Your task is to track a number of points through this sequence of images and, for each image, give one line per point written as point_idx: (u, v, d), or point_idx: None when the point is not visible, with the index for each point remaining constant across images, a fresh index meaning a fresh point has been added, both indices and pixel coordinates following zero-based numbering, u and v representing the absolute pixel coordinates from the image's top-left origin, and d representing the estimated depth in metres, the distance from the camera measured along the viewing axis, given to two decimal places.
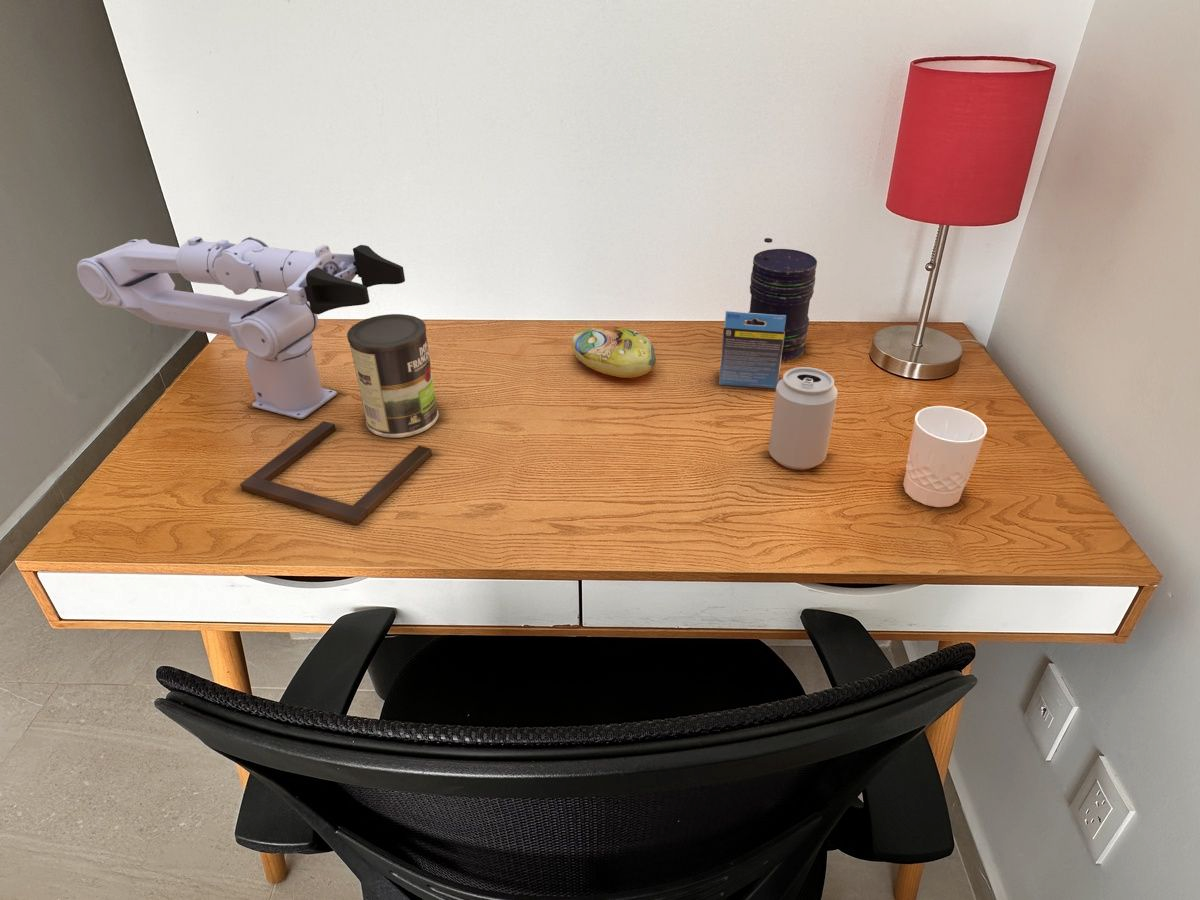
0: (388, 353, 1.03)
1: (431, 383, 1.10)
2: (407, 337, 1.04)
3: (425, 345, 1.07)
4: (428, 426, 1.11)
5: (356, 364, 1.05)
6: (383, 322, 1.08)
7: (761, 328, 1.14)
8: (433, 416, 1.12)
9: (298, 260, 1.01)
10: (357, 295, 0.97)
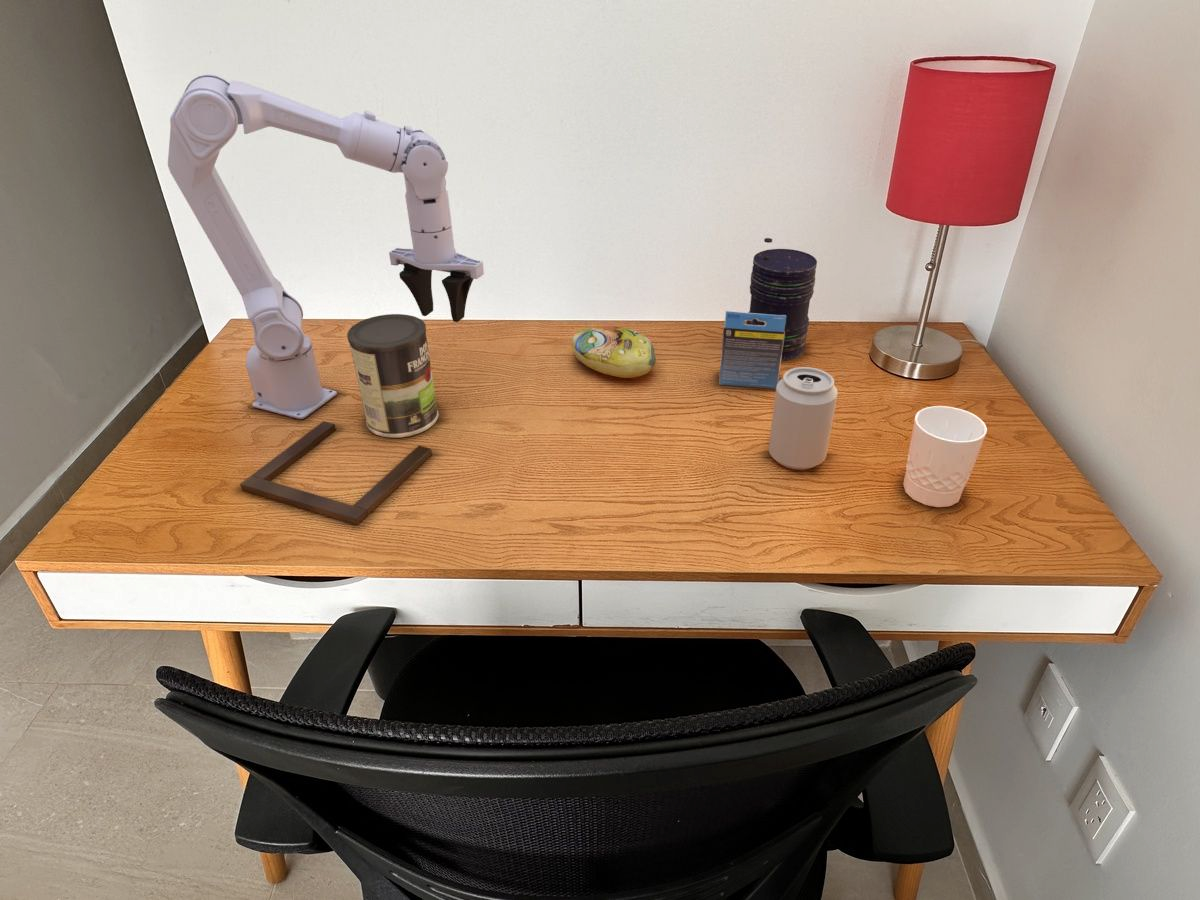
0: (388, 352, 1.03)
1: (431, 383, 1.10)
2: (407, 337, 1.04)
3: (425, 345, 1.07)
4: (428, 426, 1.11)
5: (356, 364, 1.05)
6: (383, 322, 1.08)
7: (761, 328, 1.14)
8: (433, 416, 1.12)
9: None
10: (460, 313, 1.16)
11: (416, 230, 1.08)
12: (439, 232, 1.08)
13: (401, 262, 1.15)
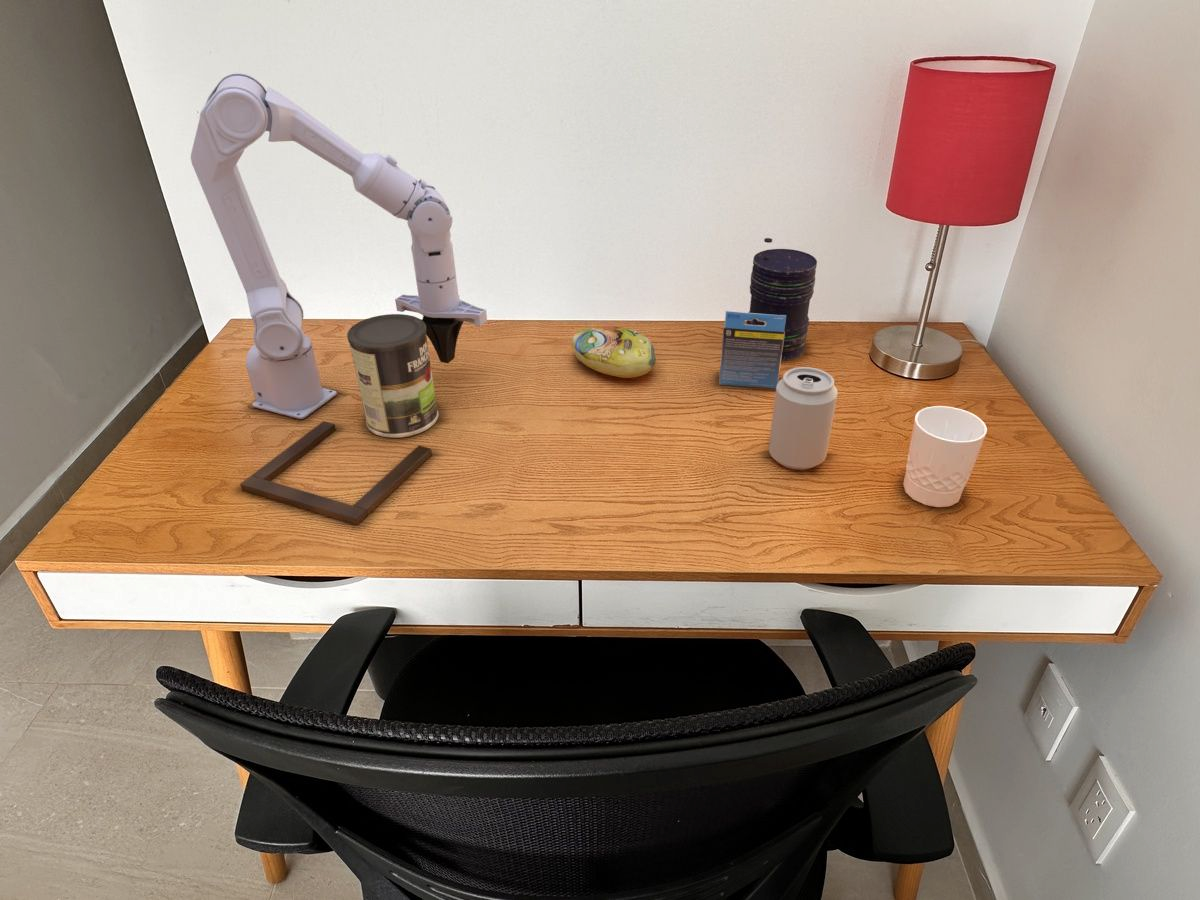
0: (388, 352, 1.03)
1: (431, 383, 1.10)
2: (407, 337, 1.04)
3: (425, 345, 1.07)
4: (428, 426, 1.11)
5: (356, 364, 1.05)
6: (383, 322, 1.08)
7: (761, 328, 1.14)
8: (433, 416, 1.12)
9: None
10: (451, 354, 1.21)
11: (421, 280, 1.12)
12: (444, 282, 1.12)
13: (407, 308, 1.19)
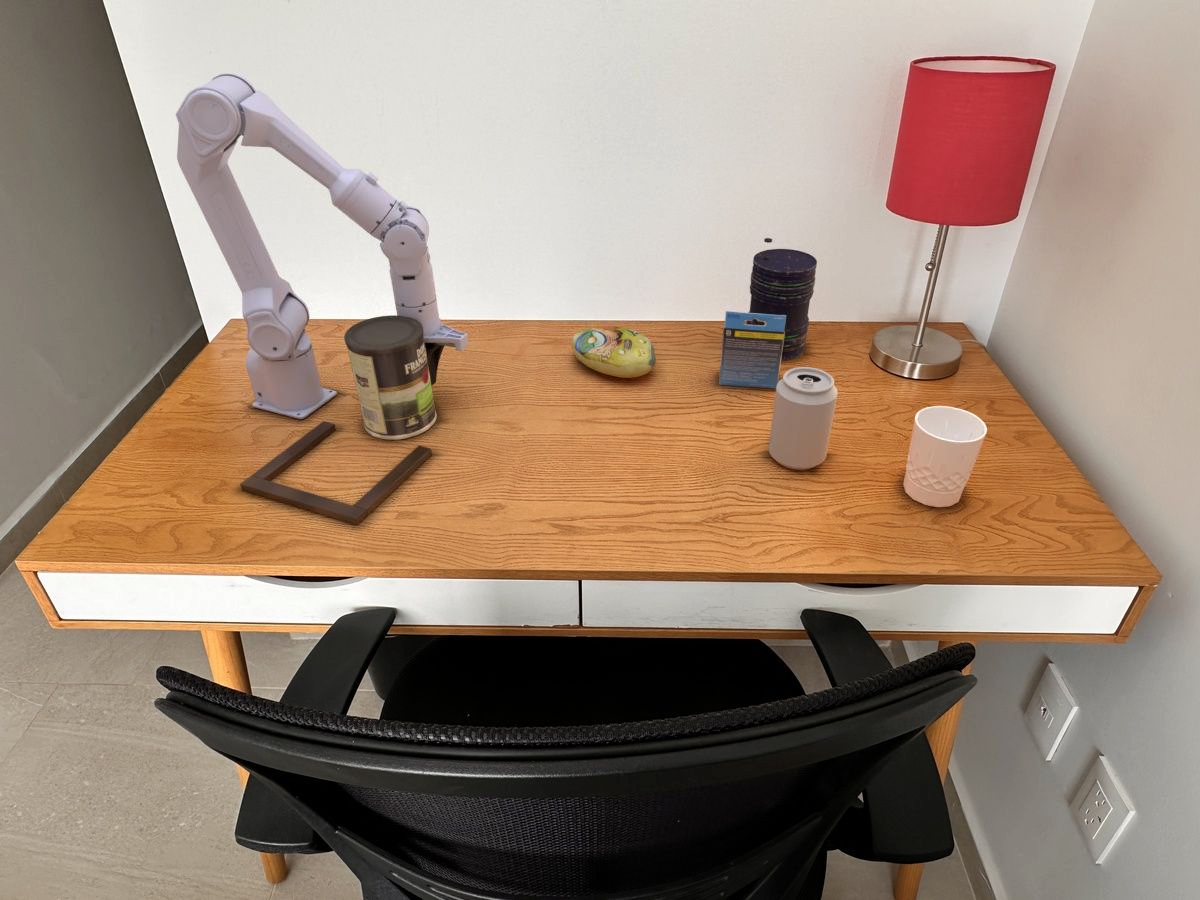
0: (385, 355, 1.02)
1: (429, 385, 1.10)
2: (404, 339, 1.04)
3: (423, 347, 1.06)
4: (426, 428, 1.11)
5: (353, 366, 1.05)
6: (380, 323, 1.08)
7: (761, 328, 1.14)
8: (431, 418, 1.12)
9: None
10: (432, 378, 1.17)
11: (397, 303, 1.09)
12: (424, 306, 1.09)
13: None
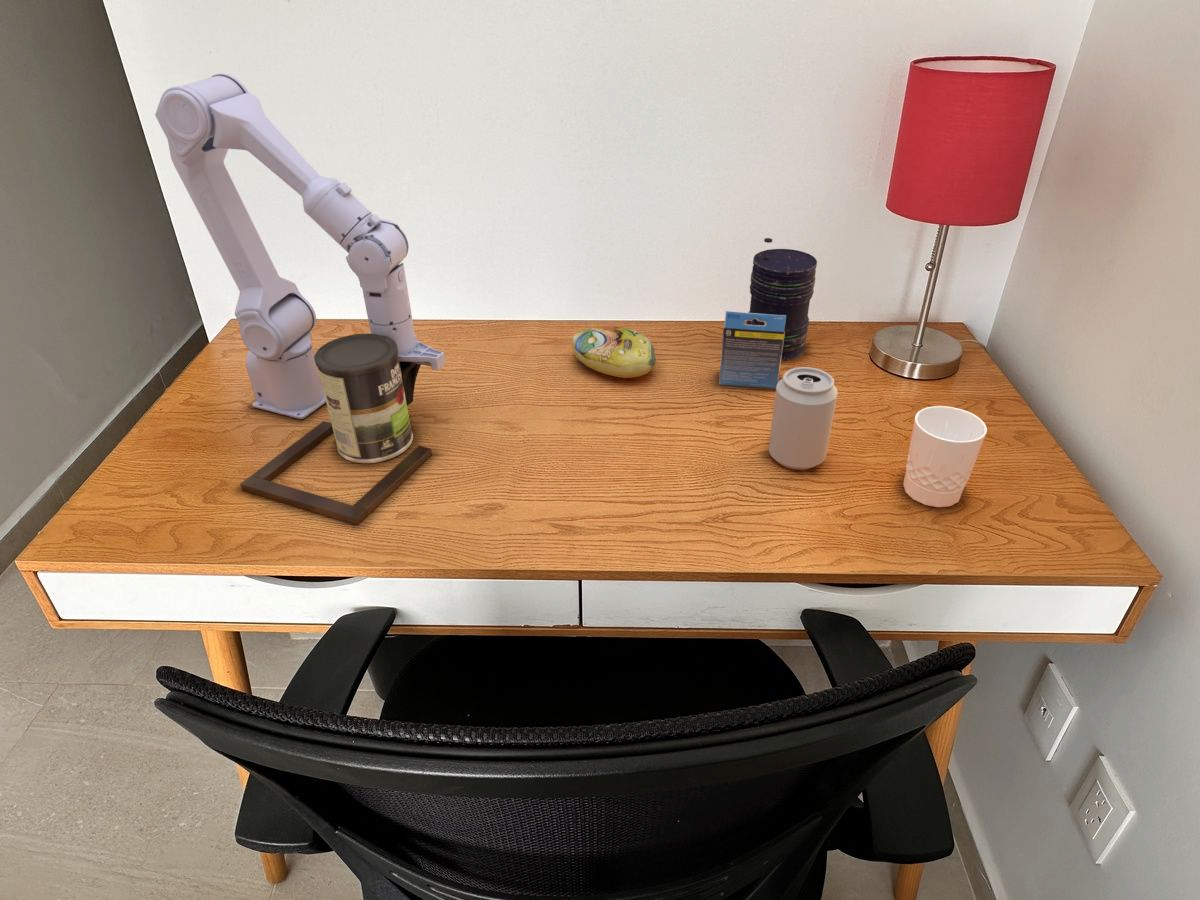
0: (357, 376, 0.98)
1: (404, 405, 1.05)
2: (377, 359, 0.99)
3: (397, 367, 1.02)
4: (402, 450, 1.07)
5: (324, 388, 1.00)
6: (352, 342, 1.03)
7: (761, 328, 1.14)
8: (407, 440, 1.07)
9: None
10: (408, 398, 1.13)
11: (368, 318, 1.05)
12: (398, 324, 1.04)
13: None
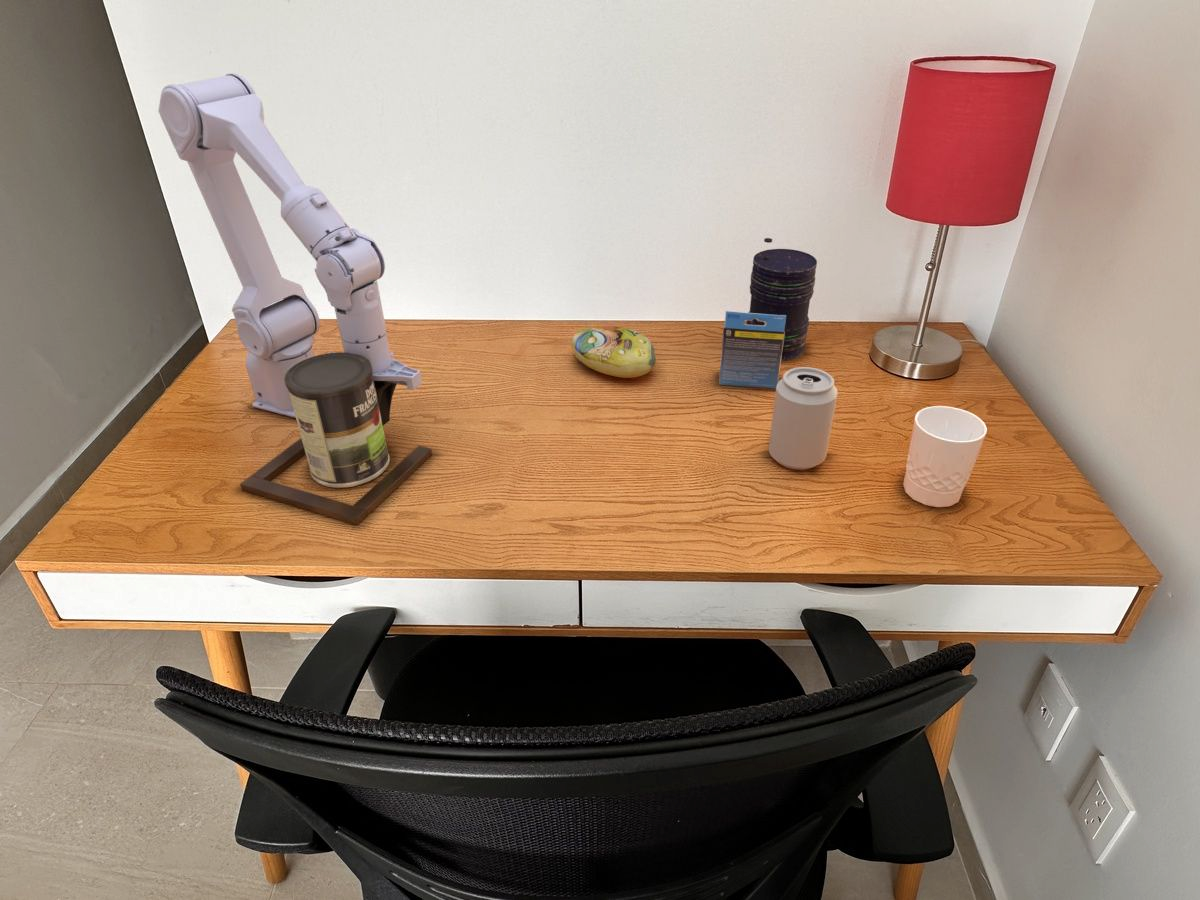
0: (330, 398, 0.93)
1: (380, 426, 1.01)
2: (351, 379, 0.95)
3: (372, 386, 0.98)
4: (379, 473, 1.02)
5: (296, 410, 0.96)
6: (324, 362, 0.99)
7: (761, 328, 1.14)
8: (384, 461, 1.03)
9: None
10: (384, 417, 1.09)
11: None
12: (372, 342, 1.00)
13: None
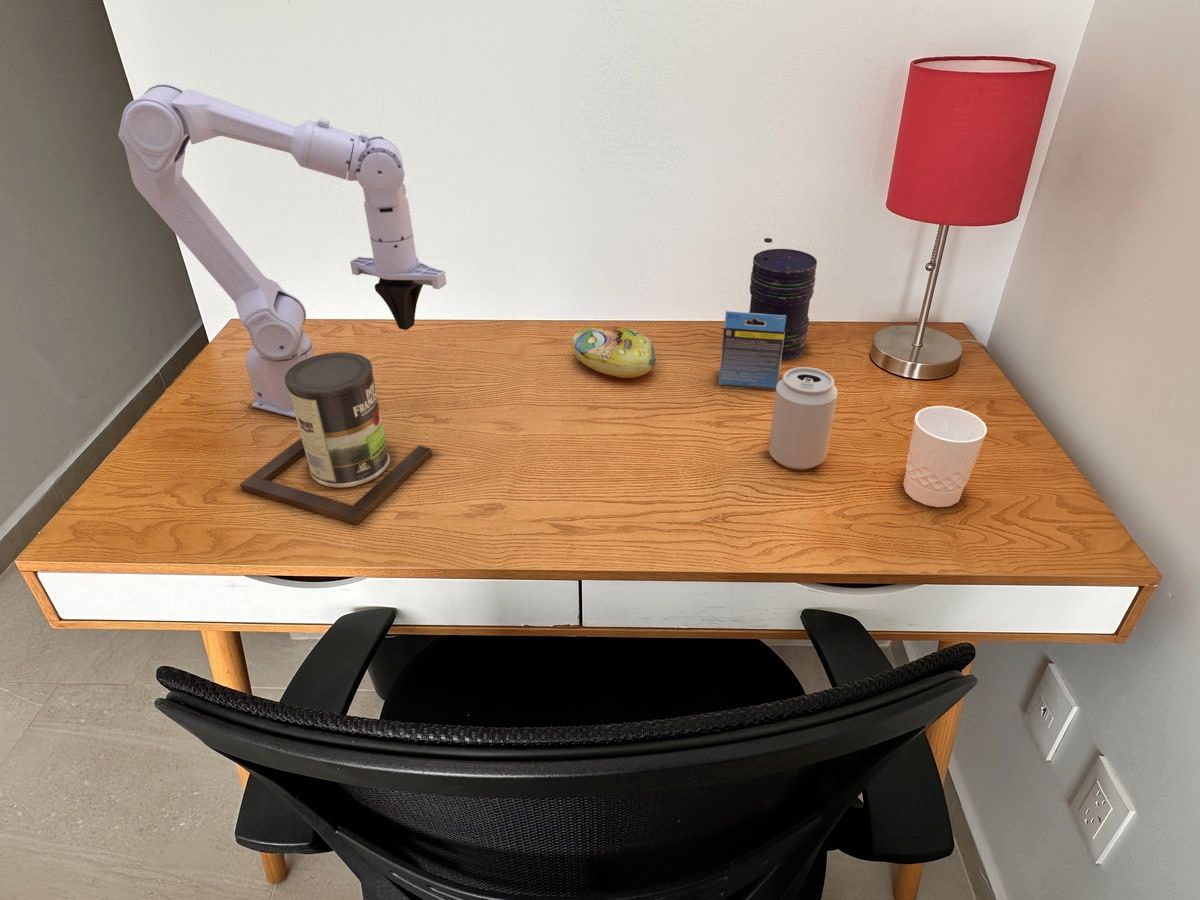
0: (330, 397, 0.93)
1: (380, 426, 1.01)
2: (351, 379, 0.95)
3: (372, 386, 0.98)
4: (379, 473, 1.02)
5: (296, 410, 0.96)
6: (324, 362, 0.99)
7: (761, 328, 1.14)
8: (384, 461, 1.03)
9: None
10: (410, 320, 1.14)
11: (374, 239, 1.05)
12: (400, 241, 1.06)
13: (363, 271, 1.12)
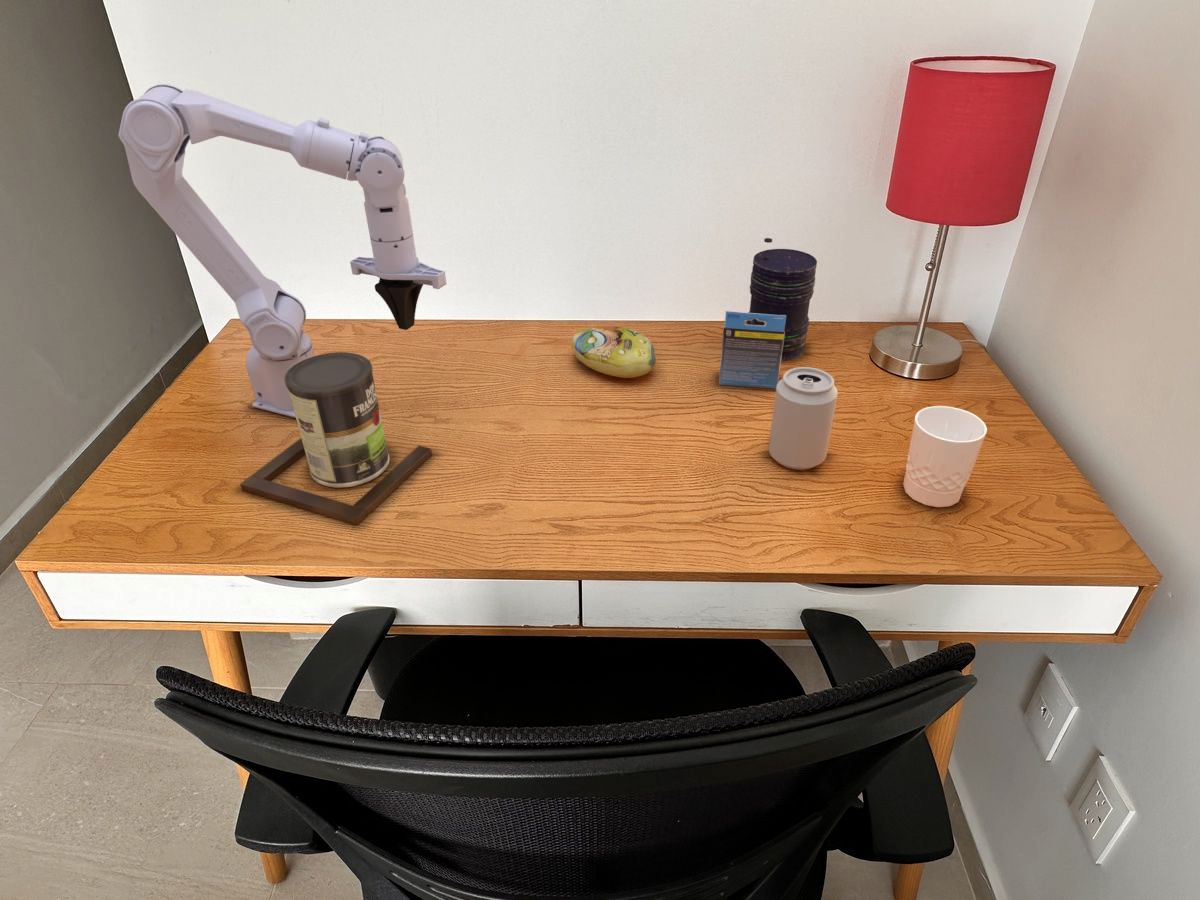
0: (330, 397, 0.93)
1: (380, 426, 1.01)
2: (351, 379, 0.95)
3: (372, 386, 0.98)
4: (379, 473, 1.02)
5: (296, 410, 0.96)
6: (324, 362, 0.99)
7: (761, 328, 1.14)
8: (384, 461, 1.03)
9: None
10: (410, 320, 1.14)
11: (374, 239, 1.05)
12: (400, 241, 1.06)
13: (363, 271, 1.12)
